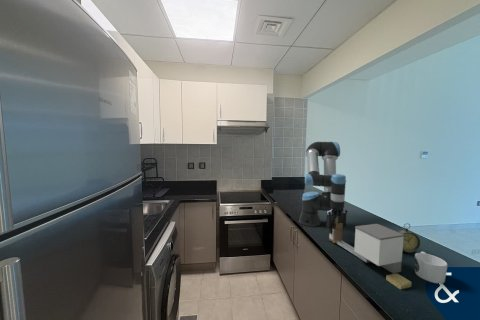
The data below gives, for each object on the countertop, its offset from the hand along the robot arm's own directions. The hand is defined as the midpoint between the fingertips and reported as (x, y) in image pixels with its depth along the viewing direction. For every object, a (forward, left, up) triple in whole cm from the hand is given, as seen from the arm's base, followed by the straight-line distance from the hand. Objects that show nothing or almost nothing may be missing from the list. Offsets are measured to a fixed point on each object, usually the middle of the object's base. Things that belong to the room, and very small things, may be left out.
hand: (335, 238), depth 120 cm
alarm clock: (+19, +30, -3) cm, 36 cm away
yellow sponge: (+37, 0, -3) cm, 37 cm away
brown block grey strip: (+10, 0, -2) cm, 10 cm away
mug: (+36, +19, -3) cm, 41 cm away
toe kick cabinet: (+25, +2, -3) cm, 25 cm away
